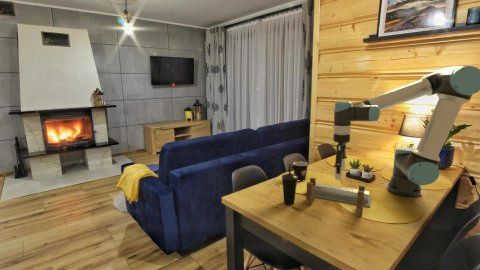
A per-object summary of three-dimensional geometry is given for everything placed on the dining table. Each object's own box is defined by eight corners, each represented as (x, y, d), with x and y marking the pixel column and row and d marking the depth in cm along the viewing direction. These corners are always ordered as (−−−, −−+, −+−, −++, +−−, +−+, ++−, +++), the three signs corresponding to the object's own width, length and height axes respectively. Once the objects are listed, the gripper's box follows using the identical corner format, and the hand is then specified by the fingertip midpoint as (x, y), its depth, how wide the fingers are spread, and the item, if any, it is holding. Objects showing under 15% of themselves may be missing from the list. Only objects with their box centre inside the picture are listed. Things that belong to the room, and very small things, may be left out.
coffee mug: (306, 176, 160) (306, 161, 158) (308, 182, 152) (309, 165, 149) (287, 176, 161) (287, 161, 159) (288, 181, 153) (288, 165, 151)
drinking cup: (287, 208, 121) (288, 167, 117) (278, 201, 128) (278, 162, 124) (300, 204, 125) (301, 164, 121) (290, 198, 131) (291, 160, 127)
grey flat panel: (371, 197, 131) (371, 196, 131) (370, 207, 120) (370, 206, 120) (311, 187, 145) (311, 186, 145) (305, 195, 134) (305, 194, 134)
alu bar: (368, 199, 128) (369, 191, 127) (368, 202, 124) (368, 194, 123) (311, 188, 141) (311, 182, 140) (309, 191, 137) (309, 184, 136)
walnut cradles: (363, 208, 120) (365, 185, 118) (361, 216, 113) (363, 192, 111) (310, 197, 131) (310, 177, 129) (306, 204, 124) (306, 183, 122)
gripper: (337, 128, 138) (336, 166, 143) (329, 138, 117) (327, 182, 121) (352, 129, 135) (350, 168, 139) (347, 139, 113) (345, 185, 118)
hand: (340, 175), depth 130 cm, fingers open, 13 cm apart
